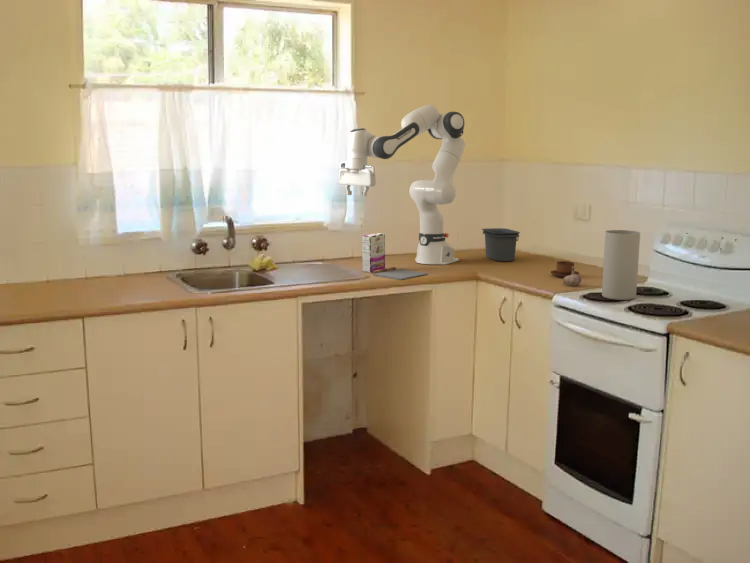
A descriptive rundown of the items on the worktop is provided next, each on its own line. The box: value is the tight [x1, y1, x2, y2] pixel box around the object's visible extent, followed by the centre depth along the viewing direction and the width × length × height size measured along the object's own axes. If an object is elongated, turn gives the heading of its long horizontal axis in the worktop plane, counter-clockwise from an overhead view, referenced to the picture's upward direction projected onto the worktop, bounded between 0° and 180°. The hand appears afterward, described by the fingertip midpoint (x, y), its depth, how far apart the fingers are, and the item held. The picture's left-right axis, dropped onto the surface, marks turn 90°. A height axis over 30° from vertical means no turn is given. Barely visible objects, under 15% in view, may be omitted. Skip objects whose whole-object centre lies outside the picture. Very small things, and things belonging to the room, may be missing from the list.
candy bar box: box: [361, 232, 386, 273], centre depth 364 cm, size 11×5×16 cm, turn 143°
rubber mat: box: [372, 268, 429, 281], centre depth 354 cm, size 18×16×1 cm
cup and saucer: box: [550, 260, 580, 278], centre depth 353 cm, size 12×12×6 cm
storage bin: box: [481, 227, 521, 262], centre depth 399 cm, size 21×16×14 cm
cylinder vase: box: [601, 229, 641, 301], centre depth 307 cm, size 12×12×25 cm
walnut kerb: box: [372, 266, 397, 275], centre depth 360 cm, size 14×1×2 cm, turn 137°
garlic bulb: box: [562, 266, 582, 288], centre depth 332 cm, size 8×7×8 cm
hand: (356, 195), depth 369 cm, fingers open, 8 cm apart
